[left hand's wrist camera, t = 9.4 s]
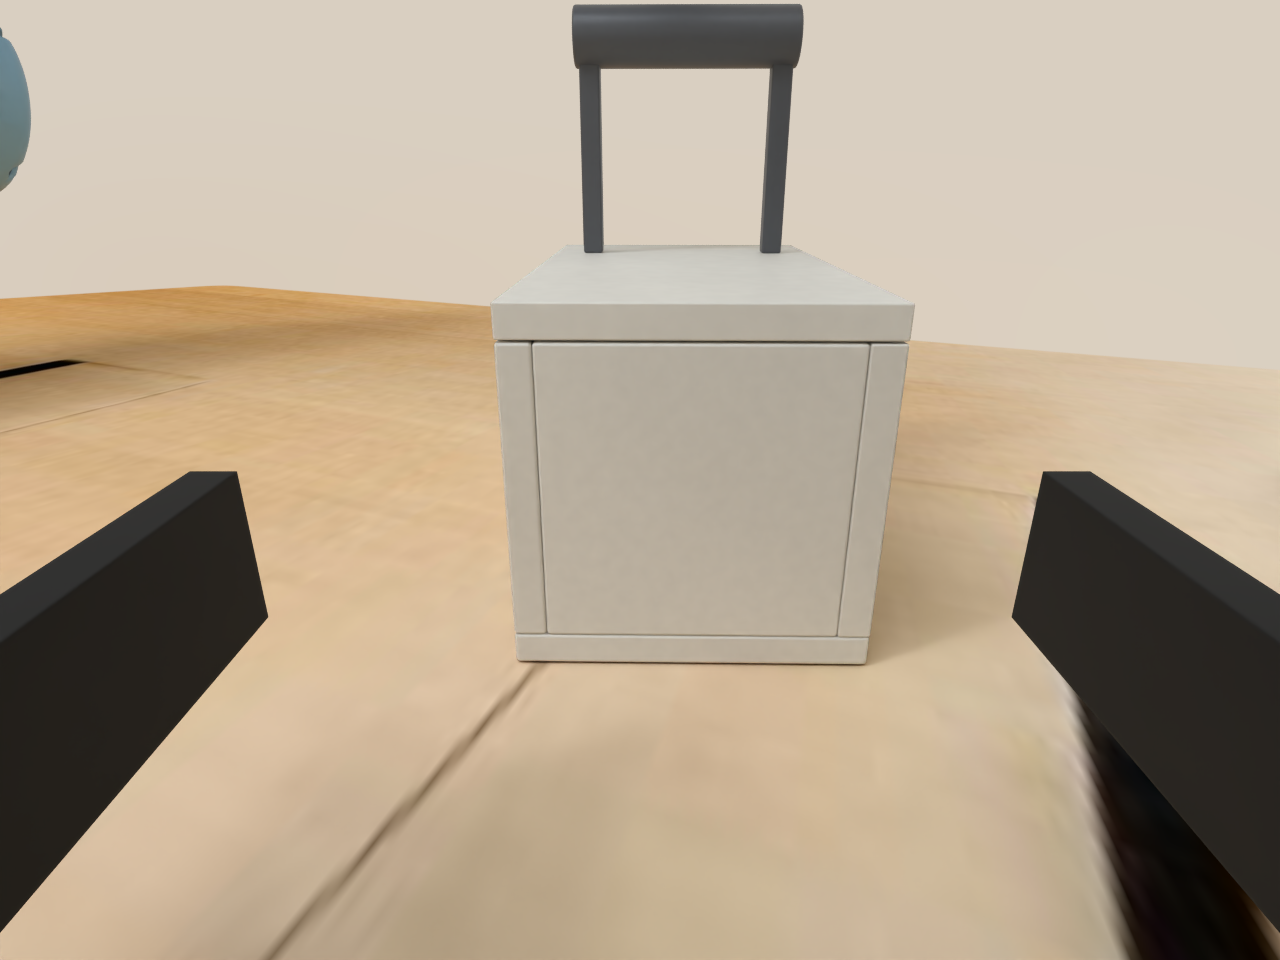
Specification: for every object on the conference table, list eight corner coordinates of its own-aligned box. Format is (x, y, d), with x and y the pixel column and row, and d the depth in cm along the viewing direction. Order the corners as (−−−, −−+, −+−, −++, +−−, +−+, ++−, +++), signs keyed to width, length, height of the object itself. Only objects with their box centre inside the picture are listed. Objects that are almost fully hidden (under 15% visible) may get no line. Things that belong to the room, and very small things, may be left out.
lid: (566, 265, 32) (558, 25, 28) (790, 266, 32) (807, 24, 28) (492, 340, 17) (457, -142, 14) (910, 341, 17) (977, -145, 14)
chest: (571, 465, 34) (564, 269, 31) (779, 467, 34) (794, 269, 31) (516, 661, 20) (492, 342, 17) (866, 665, 20) (910, 344, 17)
